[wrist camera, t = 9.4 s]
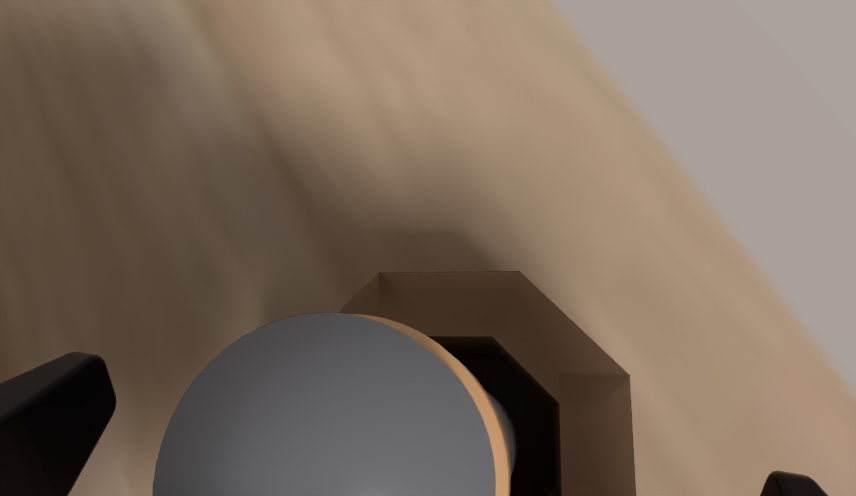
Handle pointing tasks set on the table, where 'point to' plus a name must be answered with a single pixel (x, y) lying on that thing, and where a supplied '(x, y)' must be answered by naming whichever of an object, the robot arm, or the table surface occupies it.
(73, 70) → the table surface
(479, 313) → the bead
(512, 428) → the grey knob-topped cylinder
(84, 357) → the robot arm
